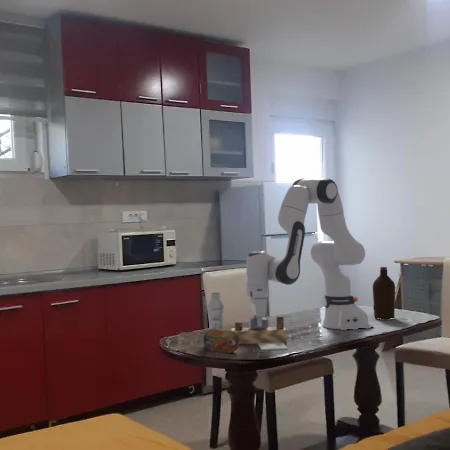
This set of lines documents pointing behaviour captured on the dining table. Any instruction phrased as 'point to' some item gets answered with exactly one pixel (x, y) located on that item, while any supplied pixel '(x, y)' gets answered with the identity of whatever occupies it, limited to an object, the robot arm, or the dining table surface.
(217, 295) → the plastic bottle
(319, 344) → the dining table surface
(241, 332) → the body
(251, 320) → the lever cap
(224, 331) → the tin
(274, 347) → the mat
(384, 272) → the olive oil
